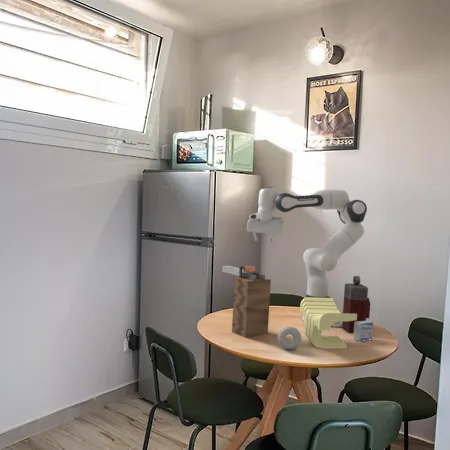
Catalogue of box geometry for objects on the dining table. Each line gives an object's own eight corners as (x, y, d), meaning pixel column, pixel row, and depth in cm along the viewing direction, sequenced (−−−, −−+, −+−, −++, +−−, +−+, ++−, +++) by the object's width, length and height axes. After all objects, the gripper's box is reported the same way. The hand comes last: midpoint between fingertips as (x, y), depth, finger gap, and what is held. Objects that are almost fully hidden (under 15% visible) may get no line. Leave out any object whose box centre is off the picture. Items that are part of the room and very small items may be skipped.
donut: (300, 348, 194) (301, 326, 193) (301, 351, 190) (302, 328, 190) (276, 347, 194) (278, 324, 193) (277, 350, 190) (279, 327, 190)
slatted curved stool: (298, 333, 217) (300, 297, 216) (330, 334, 219) (332, 298, 218) (317, 354, 187) (320, 312, 186) (354, 355, 189) (357, 313, 188)
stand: (231, 331, 214) (235, 266, 212) (254, 328, 222) (257, 265, 220) (245, 337, 206) (248, 270, 204) (267, 333, 214) (271, 268, 212)
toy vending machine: (369, 333, 223) (373, 278, 221) (347, 333, 222) (351, 277, 220) (362, 328, 232) (366, 274, 230) (341, 328, 231) (345, 274, 229)
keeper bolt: (220, 271, 228) (220, 261, 228) (229, 271, 232) (230, 260, 232) (245, 278, 212) (245, 267, 212) (254, 277, 216) (255, 266, 216)
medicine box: (359, 342, 208) (361, 323, 208) (353, 339, 212) (354, 321, 212) (372, 340, 212) (373, 322, 211) (365, 337, 216) (366, 319, 215)
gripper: (285, 217, 246) (283, 242, 246) (250, 215, 254) (248, 239, 254) (282, 217, 240) (280, 243, 241) (246, 215, 248) (245, 240, 249)
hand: (264, 241), depth 248 cm, fingers open, 8 cm apart
